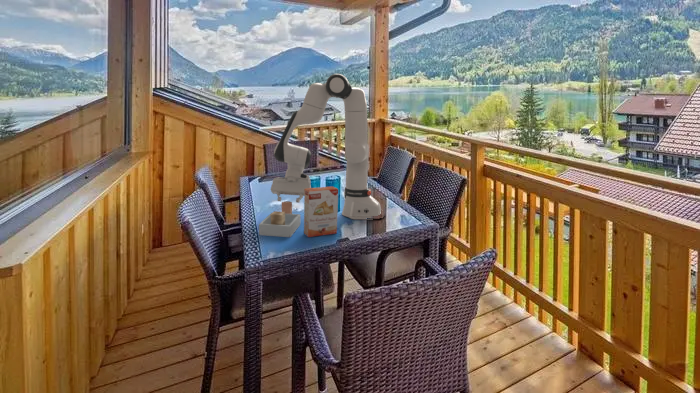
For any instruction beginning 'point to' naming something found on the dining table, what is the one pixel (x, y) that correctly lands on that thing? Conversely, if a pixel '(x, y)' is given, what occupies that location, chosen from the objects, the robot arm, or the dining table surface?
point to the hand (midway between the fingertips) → (288, 201)
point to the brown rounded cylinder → (287, 207)
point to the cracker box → (320, 211)
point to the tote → (280, 226)
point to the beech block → (278, 218)
